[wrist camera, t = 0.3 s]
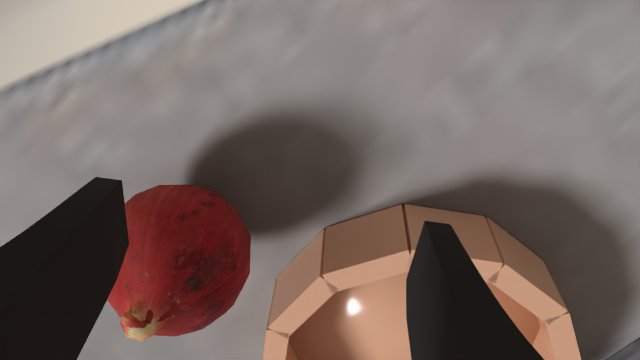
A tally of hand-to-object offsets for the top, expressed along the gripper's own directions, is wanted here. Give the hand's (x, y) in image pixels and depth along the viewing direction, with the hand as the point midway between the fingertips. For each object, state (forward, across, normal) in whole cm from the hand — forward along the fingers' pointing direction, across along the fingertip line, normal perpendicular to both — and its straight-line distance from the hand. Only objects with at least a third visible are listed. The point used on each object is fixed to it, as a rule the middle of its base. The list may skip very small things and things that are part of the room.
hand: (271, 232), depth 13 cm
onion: (+10, +4, +8) cm, 13 cm away
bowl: (+8, -7, +13) cm, 17 cm away
